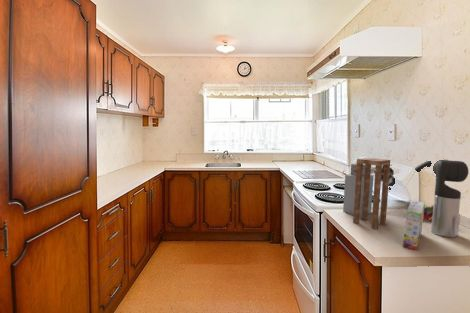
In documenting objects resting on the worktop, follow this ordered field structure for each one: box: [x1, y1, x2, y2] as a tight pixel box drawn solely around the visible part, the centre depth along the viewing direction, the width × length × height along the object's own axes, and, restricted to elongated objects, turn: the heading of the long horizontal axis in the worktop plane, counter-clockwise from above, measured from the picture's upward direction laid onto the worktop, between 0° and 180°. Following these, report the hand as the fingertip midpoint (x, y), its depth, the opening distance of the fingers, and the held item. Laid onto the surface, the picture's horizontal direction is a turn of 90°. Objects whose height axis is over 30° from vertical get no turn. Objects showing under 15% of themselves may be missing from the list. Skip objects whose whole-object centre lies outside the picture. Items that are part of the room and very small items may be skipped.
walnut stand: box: [352, 157, 391, 230], centre depth 134 cm, size 11×10×32 cm
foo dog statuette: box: [423, 205, 433, 222], centre depth 141 cm, size 8×10×12 cm
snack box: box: [402, 200, 426, 251], centre depth 115 cm, size 21×6×15 cm, turn 143°
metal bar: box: [350, 162, 375, 176], centre depth 155 cm, size 6×18×6 cm, turn 128°
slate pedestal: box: [342, 173, 375, 217], centre depth 154 cm, size 10×12×21 cm
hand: (375, 166), depth 164 cm, fingers open, 8 cm apart
